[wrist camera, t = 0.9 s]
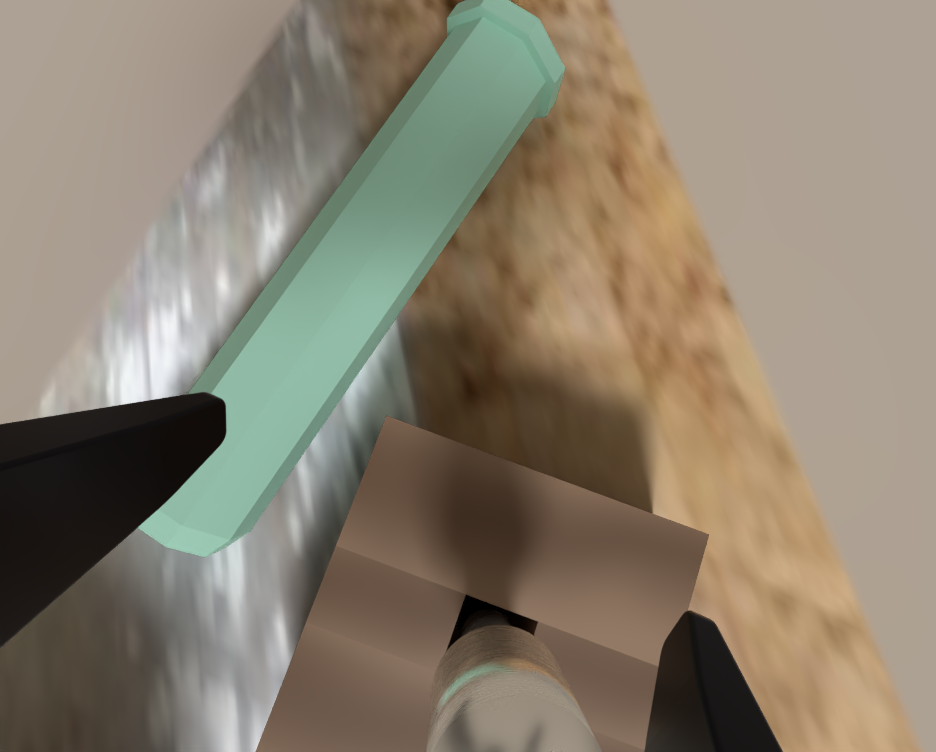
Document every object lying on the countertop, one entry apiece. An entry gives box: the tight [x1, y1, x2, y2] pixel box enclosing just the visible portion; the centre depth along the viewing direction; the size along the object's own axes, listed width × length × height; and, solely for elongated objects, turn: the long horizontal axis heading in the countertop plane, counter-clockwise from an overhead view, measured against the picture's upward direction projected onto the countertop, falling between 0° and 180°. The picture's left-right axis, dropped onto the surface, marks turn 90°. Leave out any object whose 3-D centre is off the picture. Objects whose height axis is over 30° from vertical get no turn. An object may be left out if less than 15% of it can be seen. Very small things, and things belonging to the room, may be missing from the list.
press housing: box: [256, 416, 709, 752], centre depth 20 cm, size 12×12×5 cm
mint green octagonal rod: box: [138, 0, 565, 557], centre depth 22 cm, size 6×6×25 cm
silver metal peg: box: [426, 609, 602, 752], centre depth 14 cm, size 4×4×8 cm
